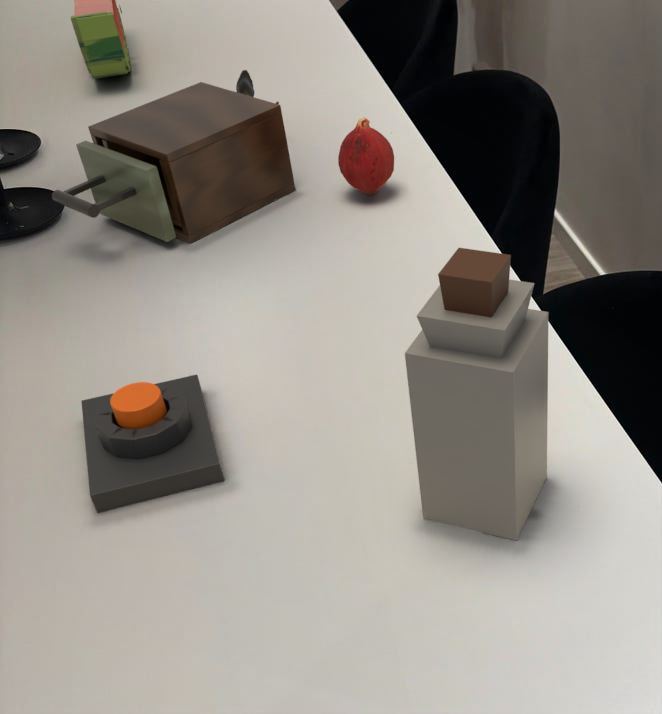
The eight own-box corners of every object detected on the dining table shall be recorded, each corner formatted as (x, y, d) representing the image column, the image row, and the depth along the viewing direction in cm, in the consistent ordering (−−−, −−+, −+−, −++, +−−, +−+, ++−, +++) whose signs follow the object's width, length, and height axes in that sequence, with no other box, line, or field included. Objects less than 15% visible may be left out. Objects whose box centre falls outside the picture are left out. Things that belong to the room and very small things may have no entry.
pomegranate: (384, 209, 101) (375, 132, 95) (334, 203, 102) (323, 127, 97) (405, 185, 105) (398, 110, 99) (357, 180, 106) (347, 106, 101)
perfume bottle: (516, 540, 64) (511, 303, 52) (423, 519, 66) (397, 285, 54) (546, 477, 69) (549, 244, 56) (458, 458, 71) (442, 230, 58)
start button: (115, 407, 72) (108, 388, 71) (164, 396, 73) (157, 377, 71) (118, 435, 69) (111, 416, 68) (169, 423, 70) (163, 404, 69)
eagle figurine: (299, 125, 115) (266, 89, 120) (263, 84, 109) (230, 48, 114) (253, 170, 116) (223, 133, 121) (215, 132, 110) (184, 95, 115)
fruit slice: (88, 41, 146) (65, -33, 139) (130, 35, 147) (110, -38, 140) (92, 100, 128) (66, 19, 121) (140, 93, 129) (118, 12, 122)
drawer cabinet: (190, 243, 97) (166, 154, 91) (115, 212, 103) (87, 126, 97) (295, 189, 105) (280, 104, 99) (220, 163, 111) (201, 81, 105)
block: (88, 417, 76) (73, 381, 74) (202, 391, 78) (191, 355, 76) (97, 513, 68) (81, 476, 66) (224, 481, 70) (213, 443, 68)
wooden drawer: (120, 265, 92) (96, 192, 87) (52, 234, 98) (25, 164, 93) (268, 191, 103) (254, 123, 98) (199, 167, 108) (182, 101, 103)
